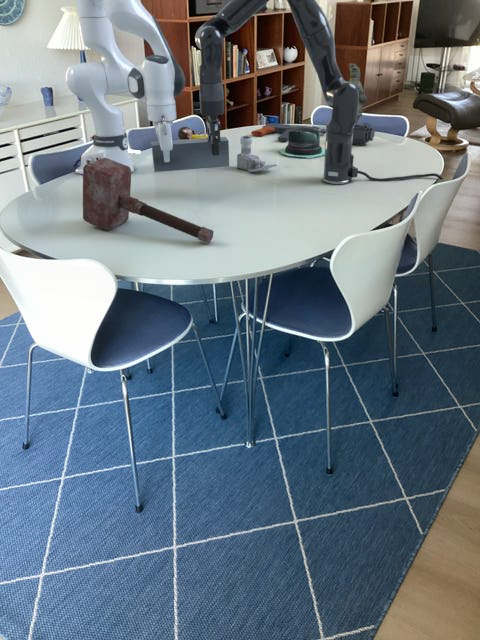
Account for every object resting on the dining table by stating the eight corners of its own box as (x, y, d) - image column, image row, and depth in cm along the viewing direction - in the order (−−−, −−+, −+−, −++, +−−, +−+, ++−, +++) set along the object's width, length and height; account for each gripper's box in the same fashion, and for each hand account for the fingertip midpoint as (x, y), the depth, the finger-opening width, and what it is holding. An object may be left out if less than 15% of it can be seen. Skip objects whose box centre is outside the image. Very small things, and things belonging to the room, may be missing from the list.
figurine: (211, 139, 238) (170, 125, 250) (210, 157, 242) (170, 142, 255) (230, 134, 247) (190, 120, 259) (229, 150, 251) (189, 136, 263)
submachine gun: (244, 132, 259) (268, 122, 277) (244, 138, 260) (268, 128, 279) (307, 138, 245) (328, 127, 264) (307, 145, 246) (328, 133, 265)
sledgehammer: (223, 202, 148) (103, 155, 160) (205, 213, 141) (81, 164, 152) (214, 257, 158) (102, 210, 170) (196, 271, 151) (81, 220, 163)
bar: (154, 172, 178) (151, 145, 174) (153, 167, 183) (151, 141, 178) (229, 166, 182) (228, 140, 177) (226, 162, 186) (225, 136, 182)
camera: (247, 133, 214) (277, 139, 205) (247, 164, 220) (276, 171, 211) (231, 137, 209) (262, 144, 200) (232, 169, 215) (261, 176, 206)
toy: (345, 120, 249) (377, 123, 242) (343, 139, 253) (375, 143, 246) (337, 123, 243) (369, 127, 236) (336, 143, 247) (367, 147, 240)
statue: (367, 132, 266) (374, 63, 251) (349, 133, 264) (355, 64, 249) (357, 127, 275) (362, 61, 260) (339, 129, 273) (344, 62, 258)
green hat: (332, 145, 241) (326, 158, 224) (294, 164, 249) (286, 177, 233) (317, 113, 235) (310, 124, 219) (279, 133, 244) (269, 145, 228)
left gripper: (175, 119, 164) (178, 166, 171) (169, 107, 181) (172, 150, 188) (153, 120, 163) (158, 167, 170) (150, 108, 180) (154, 151, 187)
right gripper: (227, 101, 167) (229, 157, 176) (219, 93, 179) (222, 147, 188) (202, 102, 166) (206, 159, 175) (196, 95, 178) (200, 148, 187)
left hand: (165, 158), depth 179 cm, fingers open, 7 cm apart
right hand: (214, 152), depth 181 cm, fingers closed on bar, 5 cm apart
